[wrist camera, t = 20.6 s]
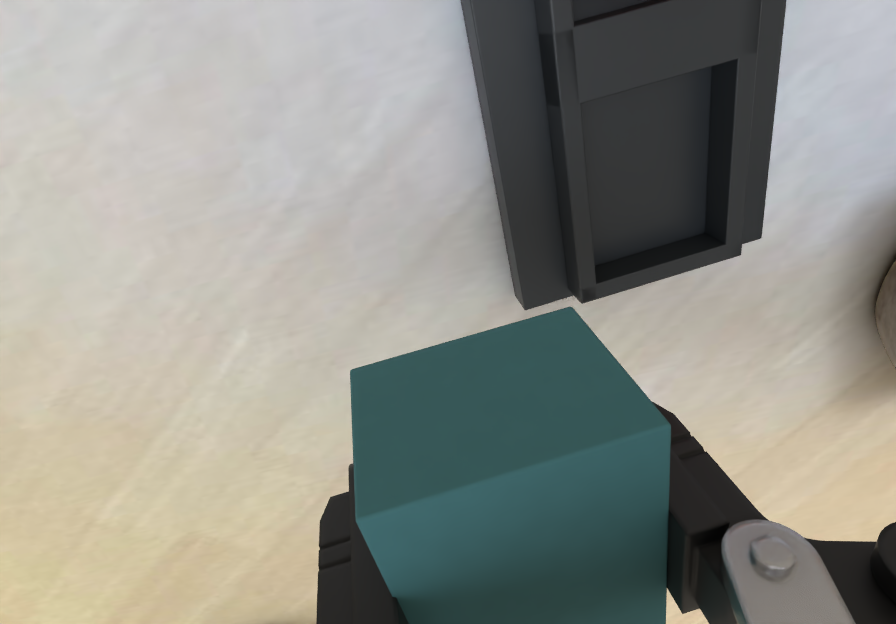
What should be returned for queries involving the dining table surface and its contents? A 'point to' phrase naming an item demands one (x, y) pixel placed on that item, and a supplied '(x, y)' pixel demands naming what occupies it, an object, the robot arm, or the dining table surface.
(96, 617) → the dining table surface
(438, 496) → the teal rectangular block
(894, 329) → the mortar
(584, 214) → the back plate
